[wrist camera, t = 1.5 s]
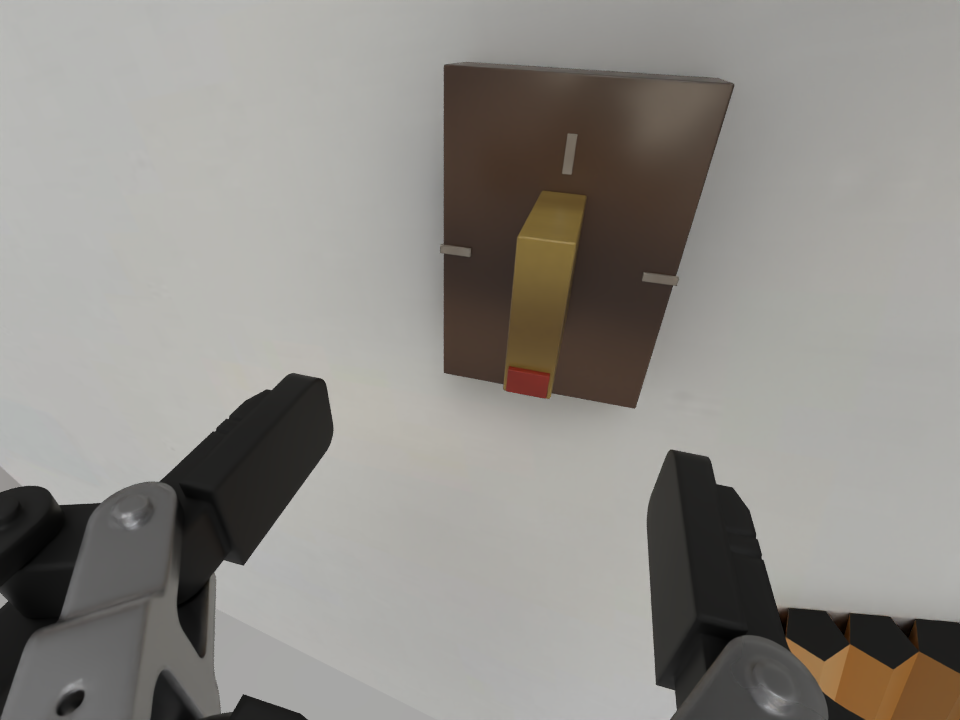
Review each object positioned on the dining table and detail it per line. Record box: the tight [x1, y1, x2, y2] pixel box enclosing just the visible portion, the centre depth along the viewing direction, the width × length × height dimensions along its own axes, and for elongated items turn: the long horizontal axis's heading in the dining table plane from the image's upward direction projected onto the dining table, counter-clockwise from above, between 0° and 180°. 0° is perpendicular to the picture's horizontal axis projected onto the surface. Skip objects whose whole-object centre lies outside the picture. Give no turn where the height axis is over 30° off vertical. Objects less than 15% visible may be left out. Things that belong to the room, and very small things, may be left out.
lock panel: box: [440, 62, 734, 408], centre depth 21 cm, size 14×10×3 cm
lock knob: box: [503, 191, 587, 399], centre depth 18 cm, size 6×2×6 cm, turn 177°
